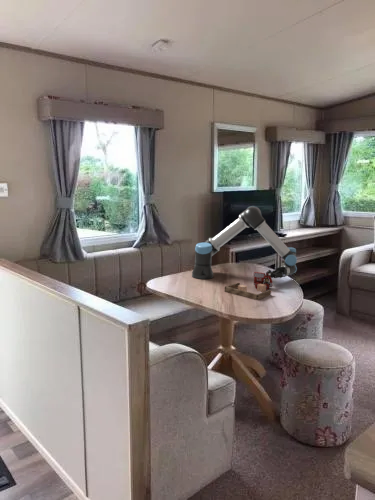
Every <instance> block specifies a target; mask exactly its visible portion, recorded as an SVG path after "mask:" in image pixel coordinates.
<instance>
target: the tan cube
mask: <svg viewBox="0 0 375 500" xmlns="http://www.w3.org/2000/svg"><path fill="white" fill-rule="evenodd" d="M256 291H257V292H260V291H261V292H260V293H263V292H265V291H267V290H266V285H264V283H263V284H258V285H257V289H256Z"/></svg>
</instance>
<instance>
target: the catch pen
mask: <svg viewBox="0 0 375 500" xmlns="http://www.w3.org/2000/svg"><path fill="white" fill-rule="evenodd" d="M239 285H241V284H240V282H236V283H232V284H230V285H226V286H224V292H227V293H229V294H234V295H237V296H240V297H244V298H248V299H252V300H256V301H259V300H261V299H264V298H267V297H268V296H269V297H270V296H271V293H272V290H271V289H268V290H266V291H264V292H260V293H258V294H257V293H254V292H253V293H252V292H249V291H247V292H246V291H242V290H238V286H239Z"/></svg>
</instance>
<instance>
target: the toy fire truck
mask: <svg viewBox="0 0 375 500" xmlns="http://www.w3.org/2000/svg"><path fill="white" fill-rule="evenodd" d="M265 274H266V275H265ZM273 282H274V281H273V278H271V276H269V273H266V272H258V271H254V272H253V286H254V287H255V289H256V290H257V285H258V284H264V285H266V291H268V290H270V288H272V287H273Z"/></svg>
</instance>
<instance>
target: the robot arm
mask: <svg viewBox="0 0 375 500" xmlns="http://www.w3.org/2000/svg"><path fill="white" fill-rule="evenodd" d="M246 228H252V229H253V230H254V231H257V232H258V234H260V235H261V237H262V238H264V239H265V241H266V242H267V243H268V244H269V245H270V246H271V247H272V249H274V251H275V252H276V253H277V254H278V255H279V256H280V257H281V259H282V260H283V261H284V263H283V265H282V266H277V267H276V268H275V269H274V270H271V269H268V271H266V272H265V275H266V273H269V276H271V279H278V278H279V279H281V278H285V277H288V276H292V275H294V274H295V273H296V272H297V271H298V268H297V265H296V264H297V261H298V257H297V249H296V248H294V247H291V246H290V247H288V246H287V245H286V244H285V242H284V241H282V239H281V238H280V237H279V236H278V234H276V233H275V231H274V230H273V229H272V228H271V227H270V226H269V225H268V223H267V222H266V219H265V218H264V216H263V215H262V211H261V209H260V208H259V207H258V206H256V205H250V206H248V207H247V208H246V209H245V210H243V211H242V212H241V213H240V214H239V215H238V218H237V219H235V220H234V221H233V222H232V223H230V224H229V225H227V226H226V227H225V228H224V229H223V230H221V231H220V232H219V233H217V234H216V235H215V236H213V237H208V238H207V240H204V241H203V242H198V243H196V245H195V248H194V251H195V252H194V253H195V254H194V256H195V257H194V267H193V269H192V272H191V277H192V278H193V279H194V278H195V279H200V280H209V279H212V278H214V272H213V268H212V257H213V256H214V255H215V254H217V253H218V252H219V251H221V250H220V248H222V246H224V245H225V244H226V243H228V242H229V241H230V240H232V239H233V238H235V237H236V236H237V235H238V234H240V233H241V232H242V231H243V230H245V229H246Z"/></svg>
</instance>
